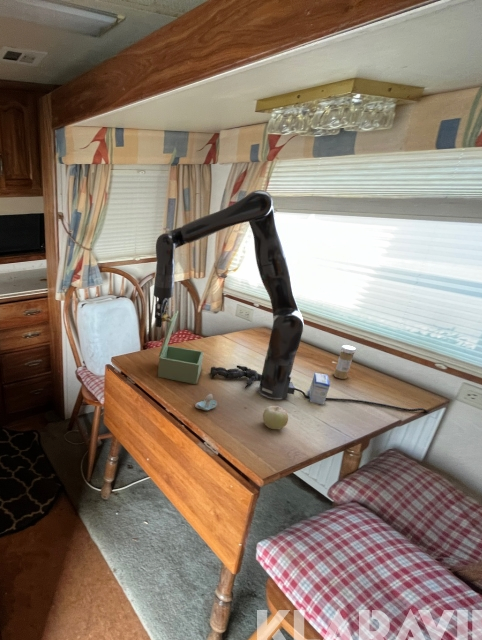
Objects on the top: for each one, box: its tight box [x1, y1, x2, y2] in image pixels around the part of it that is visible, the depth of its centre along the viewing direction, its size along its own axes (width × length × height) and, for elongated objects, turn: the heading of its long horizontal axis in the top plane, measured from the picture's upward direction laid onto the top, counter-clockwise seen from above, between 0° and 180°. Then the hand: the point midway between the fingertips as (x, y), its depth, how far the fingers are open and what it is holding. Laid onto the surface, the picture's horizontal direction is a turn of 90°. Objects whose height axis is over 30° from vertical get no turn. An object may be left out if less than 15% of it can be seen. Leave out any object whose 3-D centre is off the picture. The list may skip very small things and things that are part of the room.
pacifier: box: [194, 393, 218, 411], centre depth 127 cm, size 7×6×6 cm
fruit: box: [262, 405, 289, 430], centre depth 116 cm, size 8×7×8 cm
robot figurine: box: [210, 365, 262, 389], centre depth 146 cm, size 18×4×20 cm
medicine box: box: [308, 372, 331, 405], centre depth 131 cm, size 8×4×9 cm, turn 152°
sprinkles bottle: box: [333, 344, 356, 380], centre depth 145 cm, size 5×5×13 cm
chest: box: [157, 345, 204, 385], centre depth 150 cm, size 16×14×9 cm
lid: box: [158, 310, 180, 358], centre depth 148 cm, size 16×14×5 cm
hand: (160, 323), depth 147 cm, fingers open, 6 cm apart
